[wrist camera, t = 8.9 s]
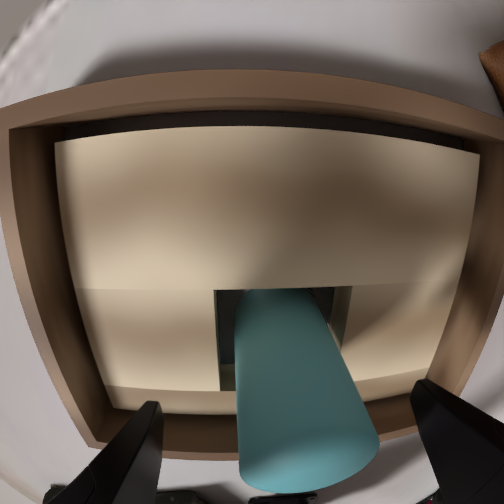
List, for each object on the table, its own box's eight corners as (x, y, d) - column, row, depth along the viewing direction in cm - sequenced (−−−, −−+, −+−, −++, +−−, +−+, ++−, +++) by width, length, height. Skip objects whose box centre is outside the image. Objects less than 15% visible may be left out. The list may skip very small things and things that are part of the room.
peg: (312, 348, 15) (359, 481, 8) (234, 352, 15) (240, 497, 8) (321, 278, 14) (398, 412, 6) (232, 280, 14) (237, 433, 6)
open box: (417, 381, 17) (443, 422, 13) (106, 397, 16) (88, 446, 12) (474, 126, 12) (531, 132, 8) (50, 112, 10) (-7, 111, 7)
